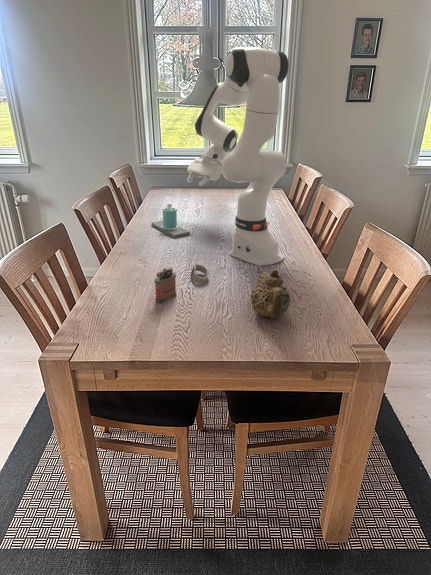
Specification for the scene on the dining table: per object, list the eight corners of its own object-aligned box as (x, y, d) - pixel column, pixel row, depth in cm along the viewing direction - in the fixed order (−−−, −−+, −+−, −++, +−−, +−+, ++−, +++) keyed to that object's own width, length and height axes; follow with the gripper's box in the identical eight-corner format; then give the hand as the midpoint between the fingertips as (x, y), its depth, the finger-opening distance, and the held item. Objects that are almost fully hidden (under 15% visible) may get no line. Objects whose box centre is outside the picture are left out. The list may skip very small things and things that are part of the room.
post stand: (189, 235, 181) (189, 207, 175) (174, 238, 177) (173, 209, 171) (166, 222, 195) (165, 196, 189) (151, 225, 191) (150, 198, 185)
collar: (178, 227, 185) (178, 209, 181) (167, 229, 182) (167, 211, 178) (172, 223, 189) (171, 206, 185) (161, 225, 186) (160, 208, 182)
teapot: (245, 298, 131) (248, 254, 124) (280, 298, 132) (285, 254, 125) (255, 336, 112) (259, 286, 105) (297, 335, 113) (304, 286, 106)
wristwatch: (190, 273, 146) (190, 260, 144) (207, 273, 147) (208, 260, 145) (191, 285, 138) (191, 271, 136) (210, 284, 139) (210, 271, 137)
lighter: (171, 292, 133) (170, 263, 129) (178, 295, 131) (178, 266, 127) (152, 301, 128) (151, 271, 123) (160, 304, 126) (159, 275, 121)
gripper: (195, 151, 190) (177, 175, 189) (221, 156, 175) (203, 182, 174) (202, 161, 194) (185, 184, 193) (229, 166, 180) (211, 191, 178)
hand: (194, 183), depth 184 cm, fingers open, 8 cm apart
